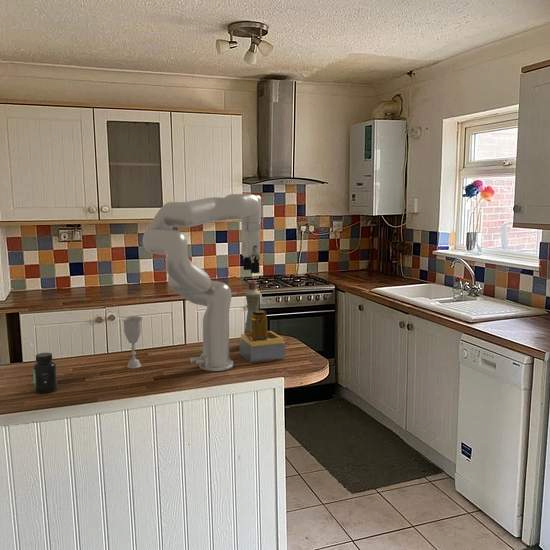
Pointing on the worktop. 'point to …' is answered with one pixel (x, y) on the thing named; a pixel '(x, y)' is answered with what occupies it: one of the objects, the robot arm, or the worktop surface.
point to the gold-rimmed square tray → (262, 347)
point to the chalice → (132, 336)
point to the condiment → (259, 325)
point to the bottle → (251, 304)
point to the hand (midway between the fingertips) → (251, 271)
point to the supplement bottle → (44, 374)
